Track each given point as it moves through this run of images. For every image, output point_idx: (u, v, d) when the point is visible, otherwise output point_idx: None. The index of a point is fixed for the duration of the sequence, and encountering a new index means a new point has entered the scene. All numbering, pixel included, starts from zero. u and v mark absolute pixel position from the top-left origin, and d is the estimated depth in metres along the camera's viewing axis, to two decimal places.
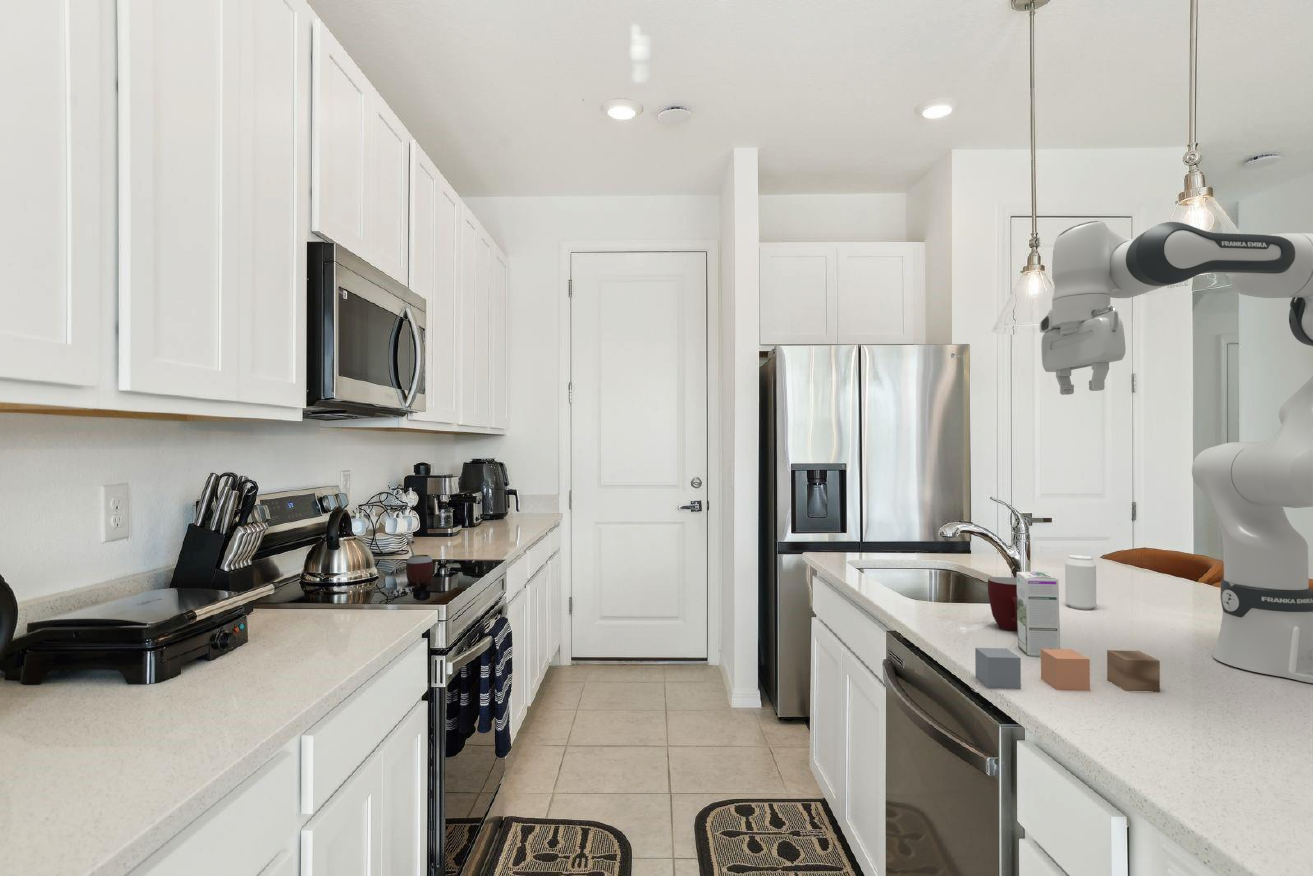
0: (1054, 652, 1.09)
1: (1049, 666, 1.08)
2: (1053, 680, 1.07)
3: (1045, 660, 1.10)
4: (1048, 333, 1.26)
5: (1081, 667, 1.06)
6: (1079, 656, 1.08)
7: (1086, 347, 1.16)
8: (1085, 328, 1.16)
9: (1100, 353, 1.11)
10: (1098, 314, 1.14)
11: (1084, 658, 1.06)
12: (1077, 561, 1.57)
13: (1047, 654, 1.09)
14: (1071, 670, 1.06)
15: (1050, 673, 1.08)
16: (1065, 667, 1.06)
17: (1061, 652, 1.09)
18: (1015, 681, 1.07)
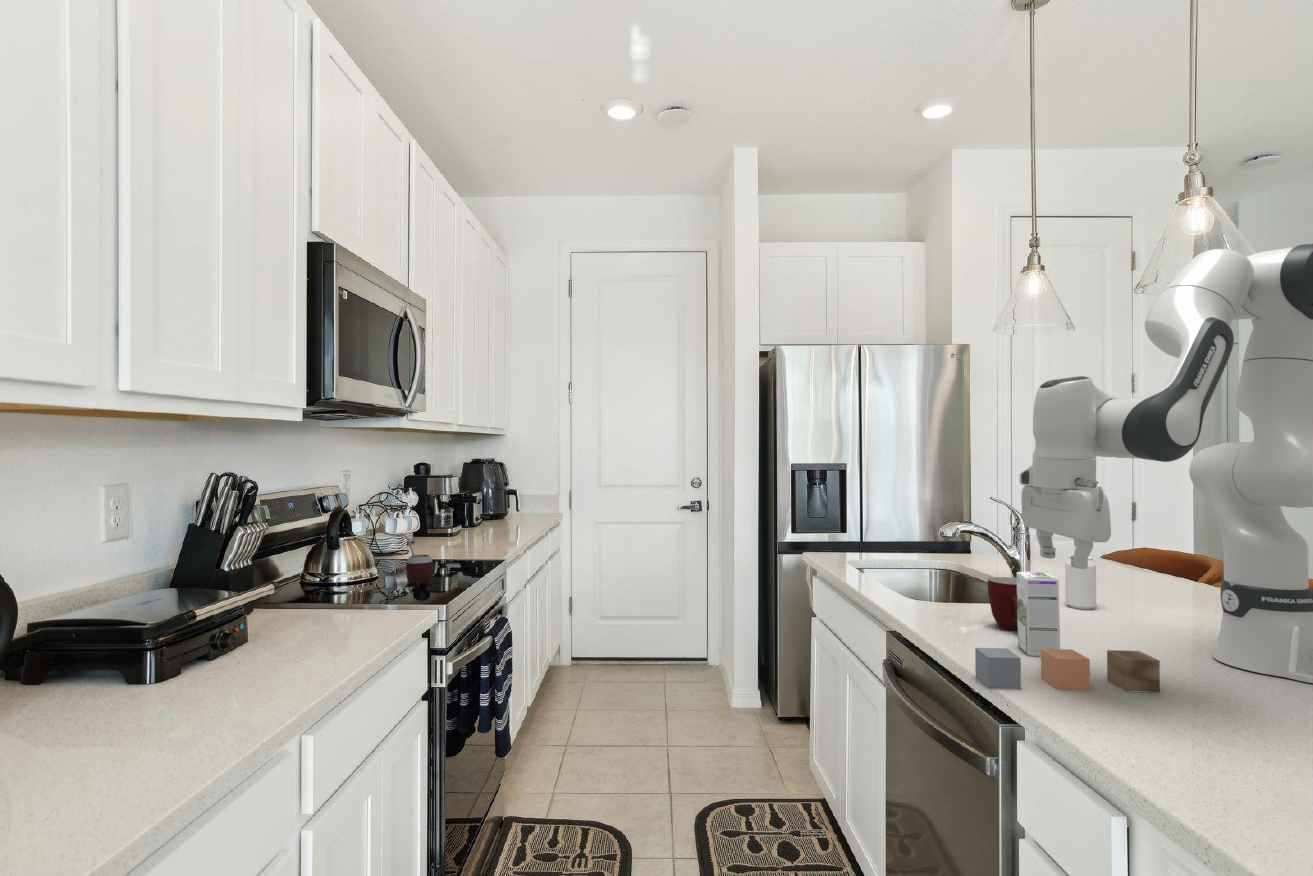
0: (1054, 652, 1.09)
1: (1049, 666, 1.08)
2: (1053, 680, 1.07)
3: (1045, 660, 1.10)
4: (1028, 488, 1.15)
5: (1081, 667, 1.06)
6: (1079, 656, 1.08)
7: (1068, 519, 1.04)
8: (1068, 499, 1.04)
9: (1083, 533, 1.00)
10: (1082, 485, 1.03)
11: (1084, 658, 1.06)
12: None
13: (1047, 654, 1.09)
14: (1071, 671, 1.06)
15: (1050, 673, 1.08)
16: (1066, 667, 1.06)
17: (1061, 652, 1.09)
18: (1015, 681, 1.07)
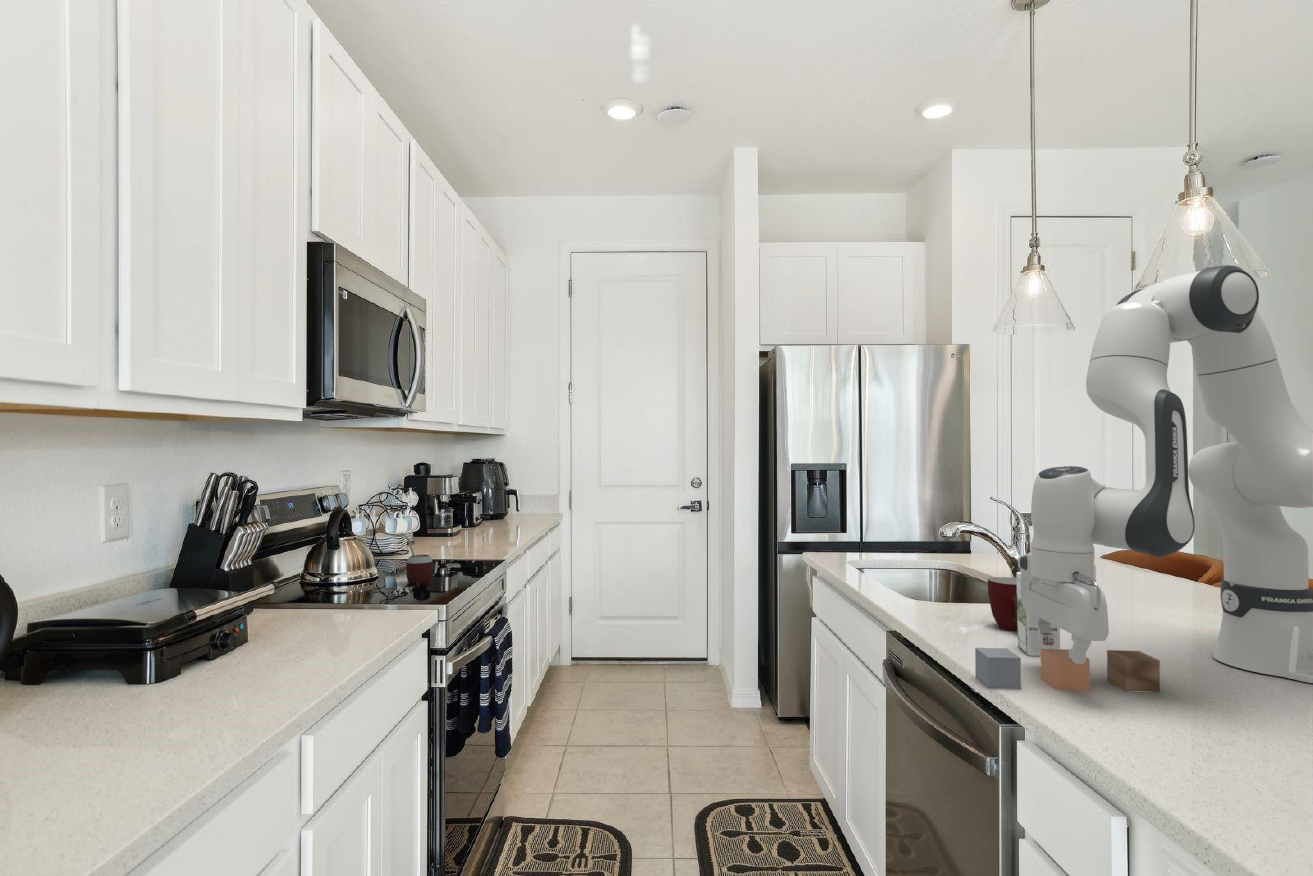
0: (1054, 652, 1.09)
1: (1049, 666, 1.08)
2: (1053, 680, 1.07)
3: (1045, 660, 1.10)
4: (1027, 574, 1.15)
5: (1081, 667, 1.06)
6: None
7: (1065, 613, 1.04)
8: (1066, 593, 1.04)
9: (1081, 632, 1.00)
10: (1079, 581, 1.03)
11: None
12: None
13: (1047, 654, 1.09)
14: (1071, 671, 1.06)
15: (1050, 673, 1.08)
16: (1065, 667, 1.06)
17: (1061, 652, 1.09)
18: (1015, 681, 1.07)
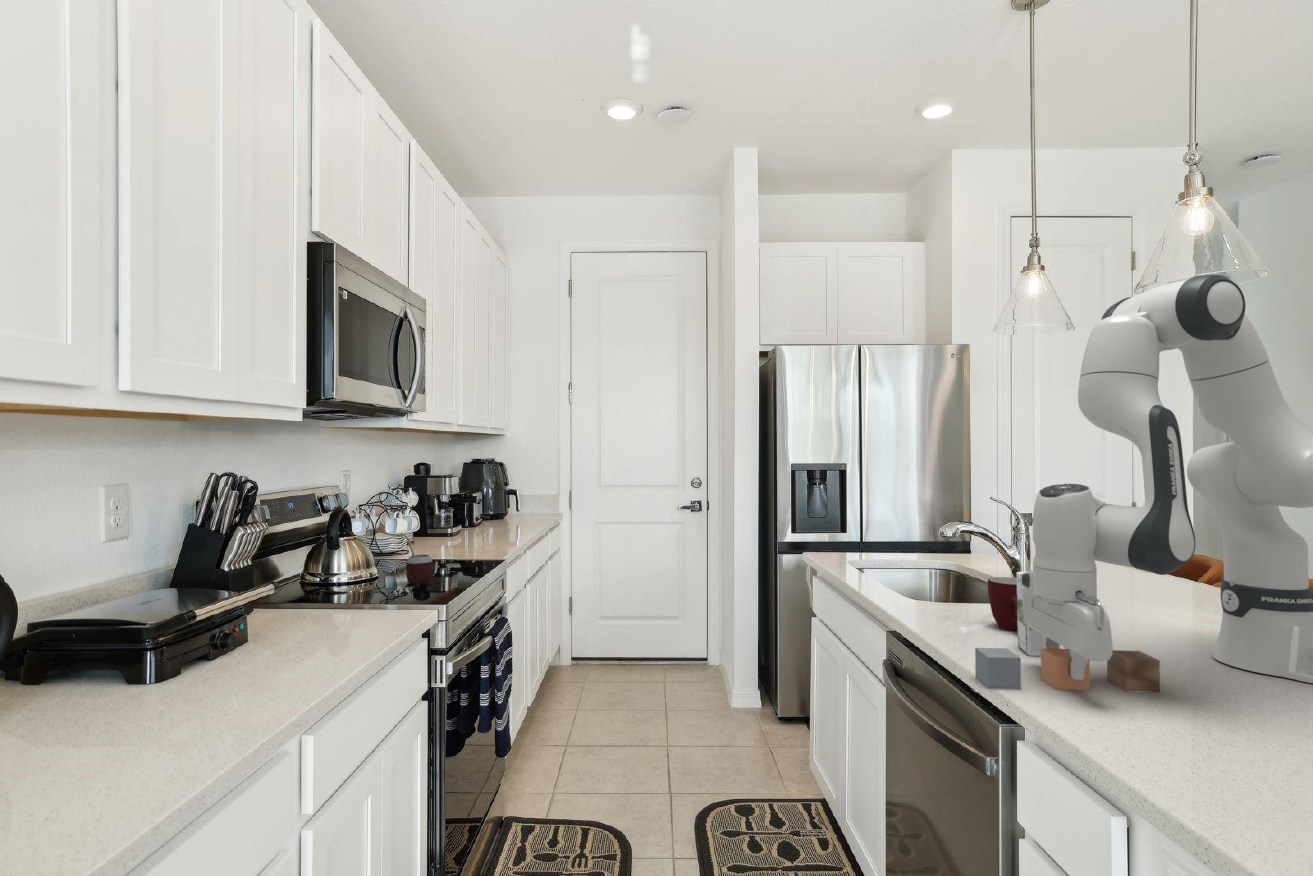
0: (1054, 651, 1.09)
1: (1049, 665, 1.08)
2: (1053, 680, 1.07)
3: (1045, 659, 1.10)
4: (1029, 591, 1.15)
5: None
6: None
7: (1069, 633, 1.04)
8: (1069, 612, 1.04)
9: (1085, 652, 1.00)
10: (1082, 600, 1.03)
11: None
12: None
13: (1047, 653, 1.09)
14: None
15: (1050, 672, 1.08)
16: (1065, 667, 1.06)
17: (1061, 651, 1.09)
18: (1015, 681, 1.07)
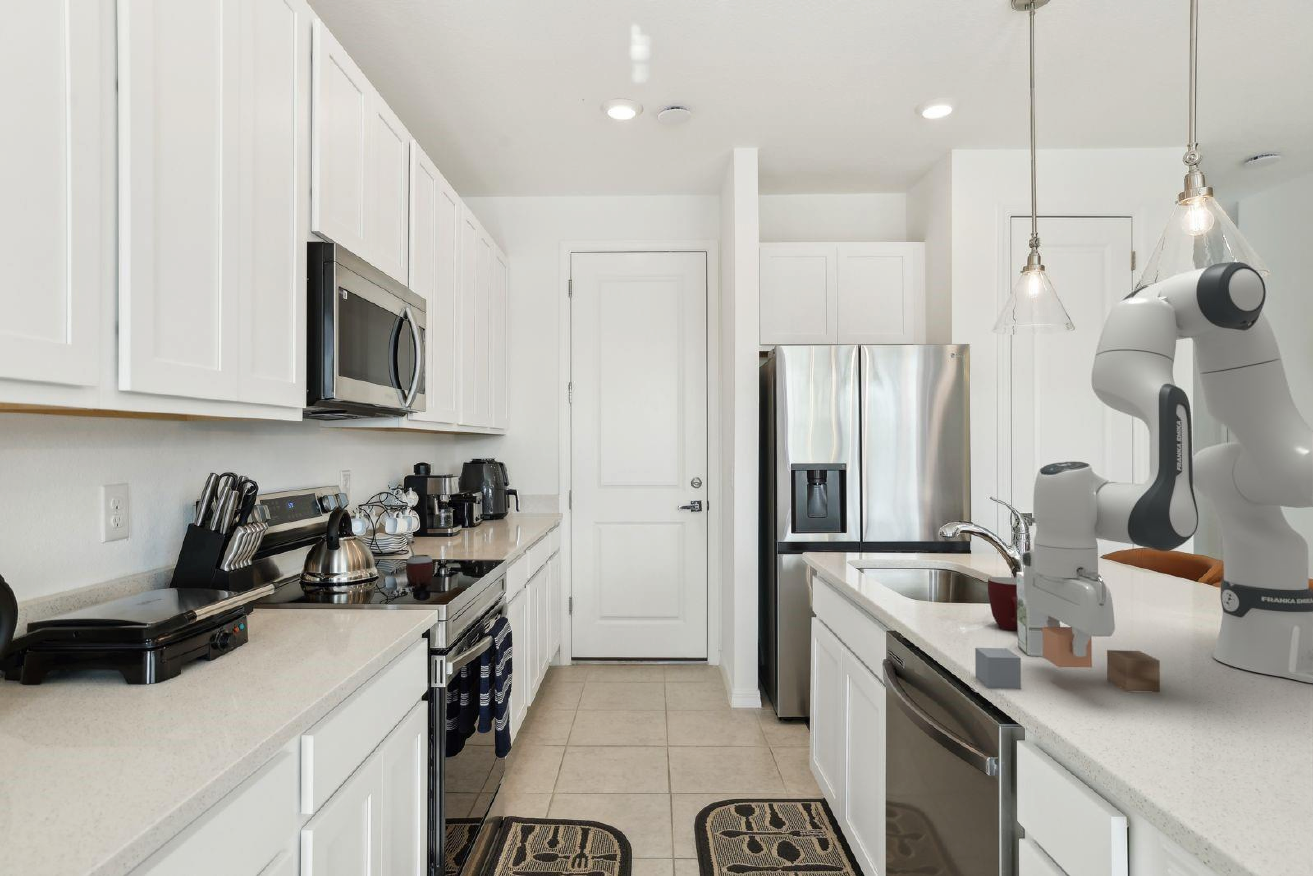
0: (1056, 629, 1.09)
1: (1051, 643, 1.08)
2: (1055, 657, 1.07)
3: (1047, 637, 1.10)
4: (1030, 570, 1.15)
5: None
6: None
7: (1071, 610, 1.04)
8: (1070, 589, 1.04)
9: (1087, 628, 0.99)
10: (1084, 576, 1.03)
11: None
12: None
13: (1049, 631, 1.09)
14: None
15: (1052, 650, 1.08)
16: (1067, 644, 1.06)
17: (1063, 629, 1.09)
18: (1015, 681, 1.07)
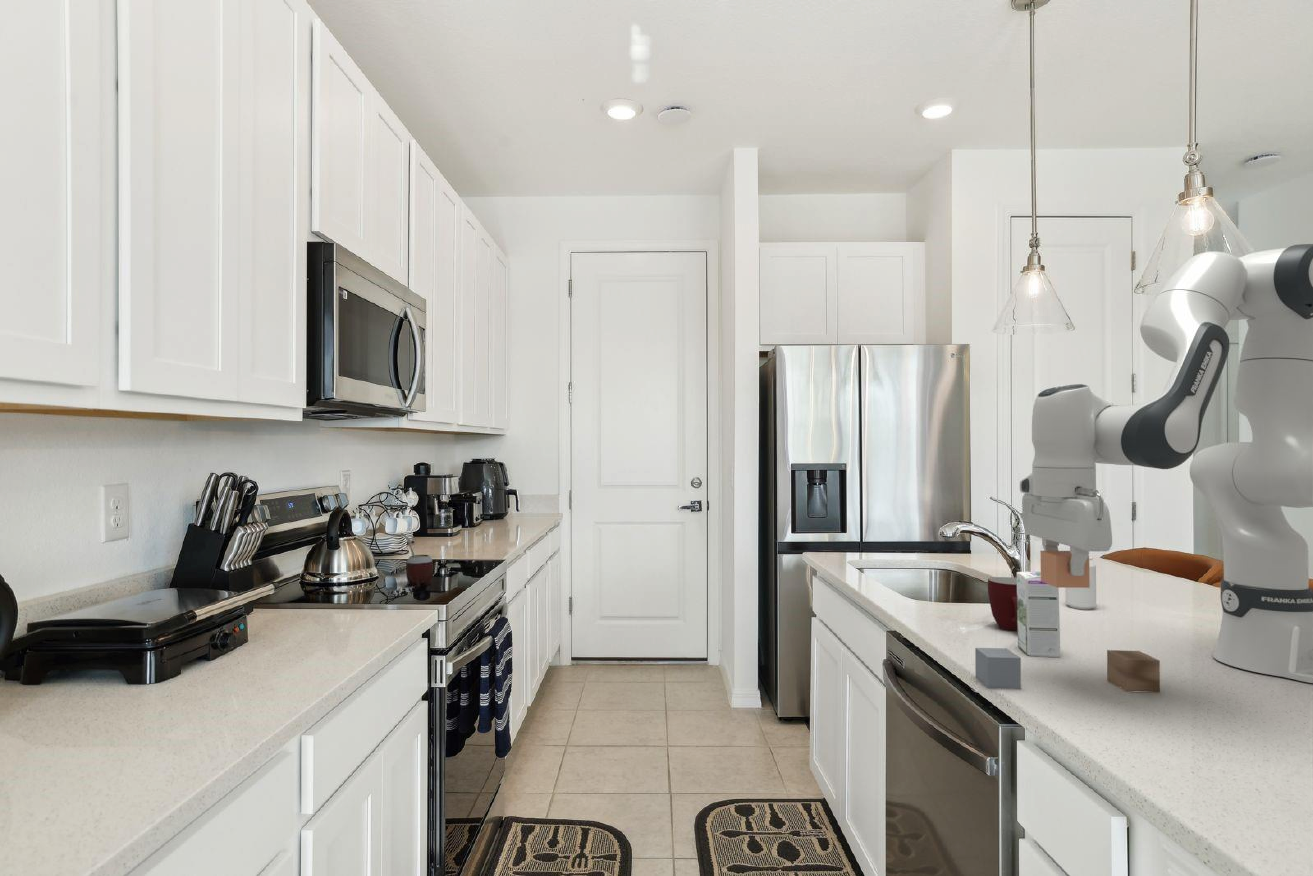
0: (1054, 552, 1.10)
1: (1049, 565, 1.09)
2: (1053, 578, 1.07)
3: (1045, 560, 1.10)
4: (1029, 496, 1.15)
5: None
6: None
7: (1069, 528, 1.04)
8: (1068, 507, 1.04)
9: (1084, 543, 1.00)
10: (1082, 494, 1.03)
11: None
12: None
13: (1047, 554, 1.09)
14: None
15: (1050, 572, 1.08)
16: (1065, 564, 1.06)
17: (1061, 552, 1.10)
18: (1015, 681, 1.07)
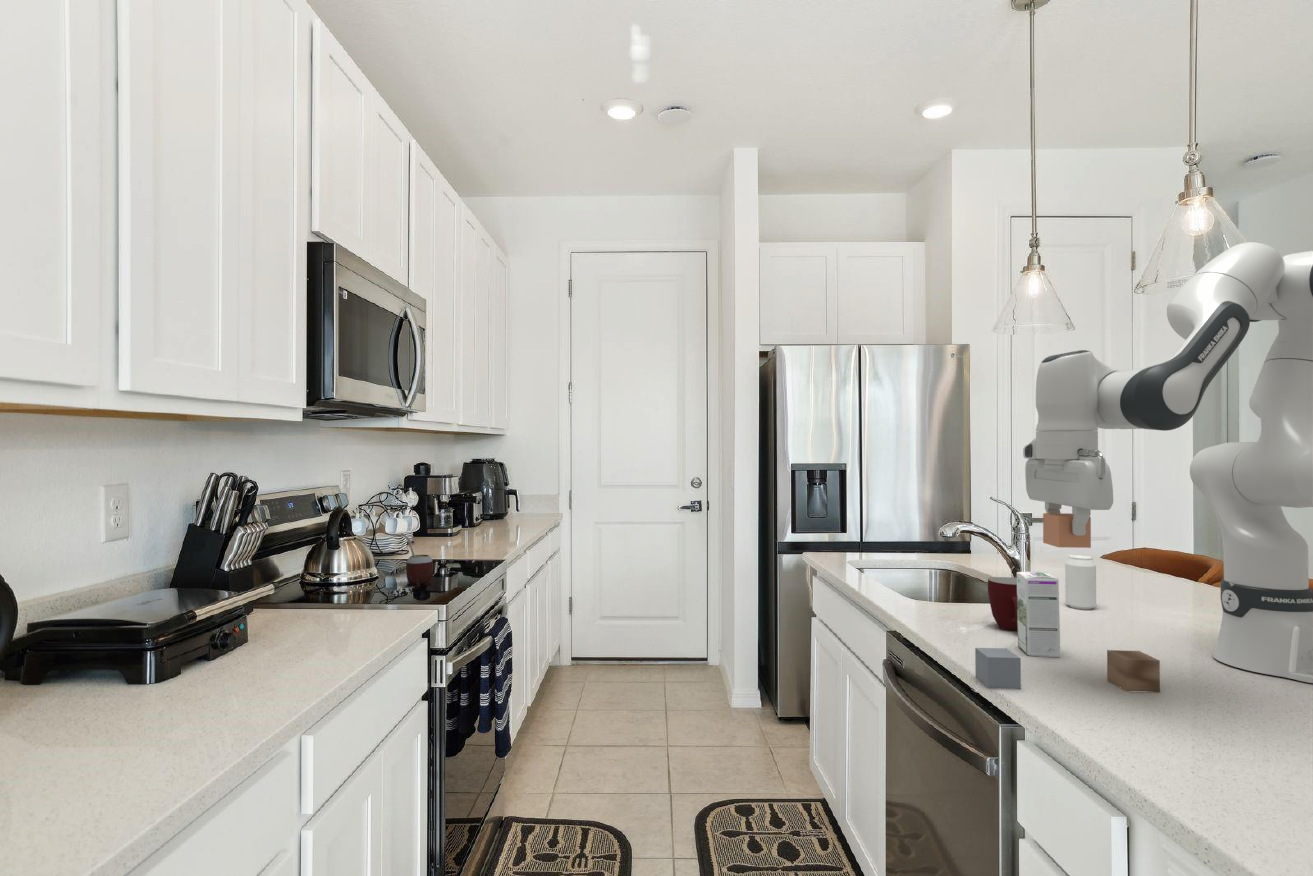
0: (1056, 514, 1.12)
1: (1051, 526, 1.11)
2: (1055, 539, 1.10)
3: (1047, 522, 1.13)
4: (1032, 461, 1.18)
5: None
6: None
7: (1071, 489, 1.07)
8: (1071, 469, 1.07)
9: (1086, 501, 1.03)
10: (1084, 455, 1.06)
11: None
12: (1077, 561, 1.57)
13: (1049, 516, 1.12)
14: None
15: (1052, 533, 1.11)
16: (1067, 525, 1.09)
17: (1063, 514, 1.12)
18: (1015, 681, 1.07)
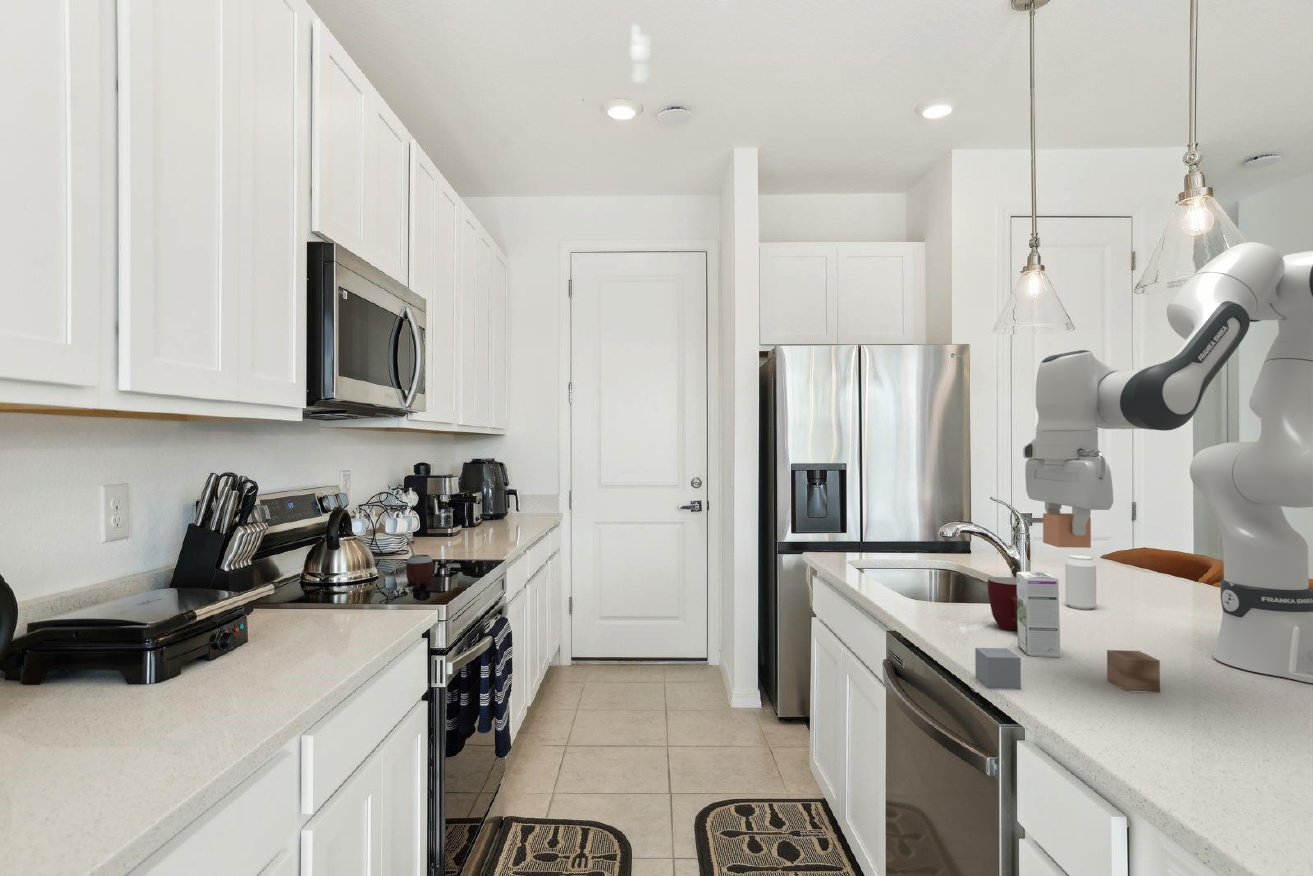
0: (1056, 514, 1.12)
1: (1051, 526, 1.11)
2: (1055, 539, 1.10)
3: (1047, 522, 1.13)
4: (1032, 461, 1.18)
5: None
6: None
7: (1071, 489, 1.07)
8: (1071, 469, 1.07)
9: (1086, 501, 1.03)
10: (1084, 455, 1.06)
11: None
12: (1077, 561, 1.57)
13: (1049, 516, 1.12)
14: None
15: (1052, 533, 1.11)
16: (1067, 525, 1.09)
17: (1063, 514, 1.12)
18: (1015, 681, 1.07)
